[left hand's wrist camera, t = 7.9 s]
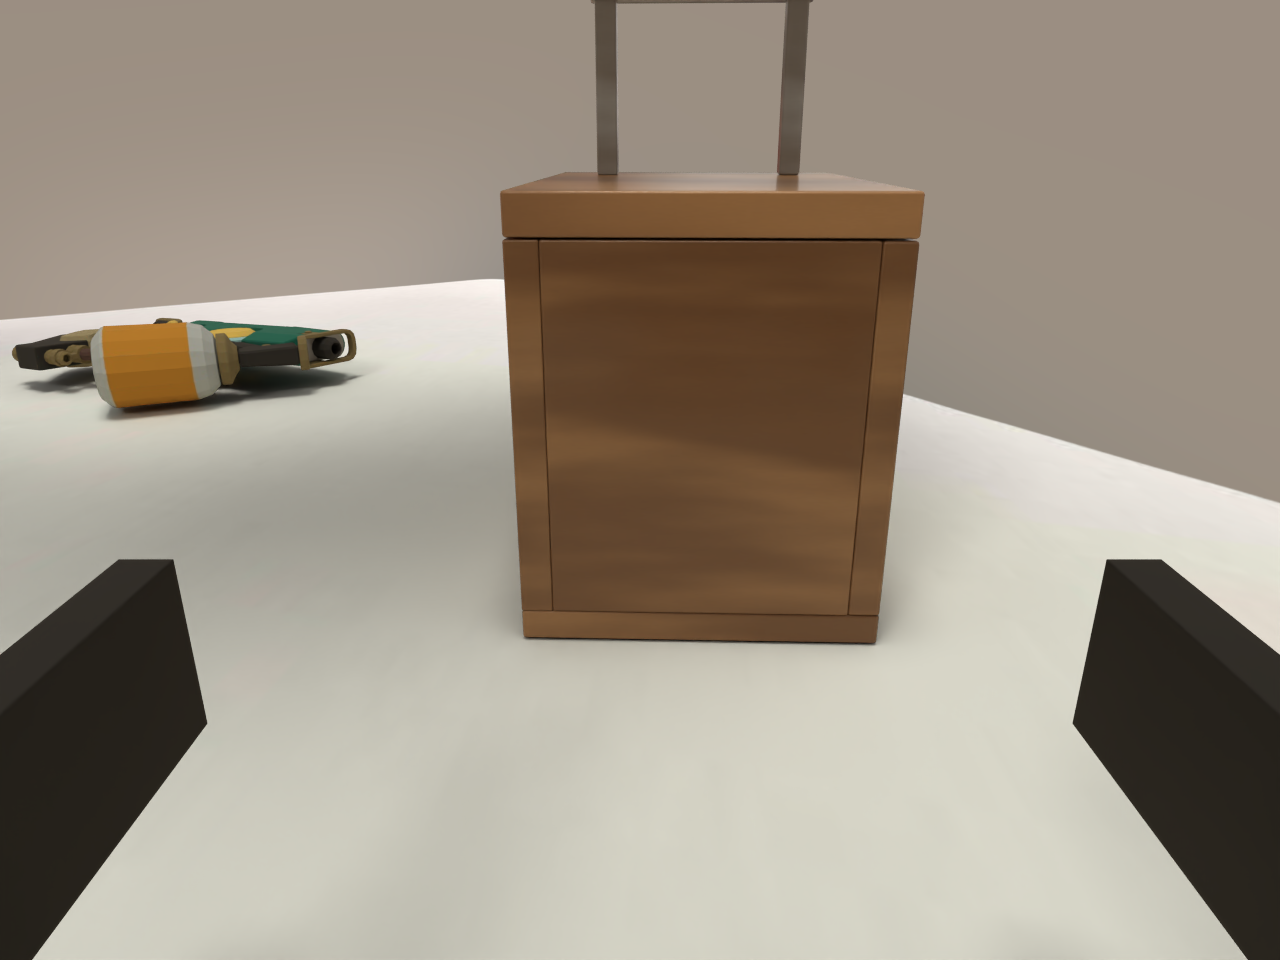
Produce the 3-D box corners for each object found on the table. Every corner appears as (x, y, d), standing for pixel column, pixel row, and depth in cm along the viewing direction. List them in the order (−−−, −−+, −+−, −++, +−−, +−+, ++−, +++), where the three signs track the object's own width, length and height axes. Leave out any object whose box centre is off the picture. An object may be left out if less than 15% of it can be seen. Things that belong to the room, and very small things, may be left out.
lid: (564, 202, 34) (557, -50, 31) (826, 202, 34) (845, -51, 31) (502, 238, 22) (479, -181, 18) (920, 239, 21) (967, -187, 18)
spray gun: (11, 385, 54) (259, 354, 64) (89, 428, 42) (376, 382, 52) (-6, 314, 52) (250, 294, 62) (70, 338, 41) (368, 309, 51)
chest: (570, 477, 38) (562, 204, 34) (809, 480, 37) (829, 204, 33) (523, 637, 25) (501, 239, 22) (876, 644, 25) (920, 241, 21)
